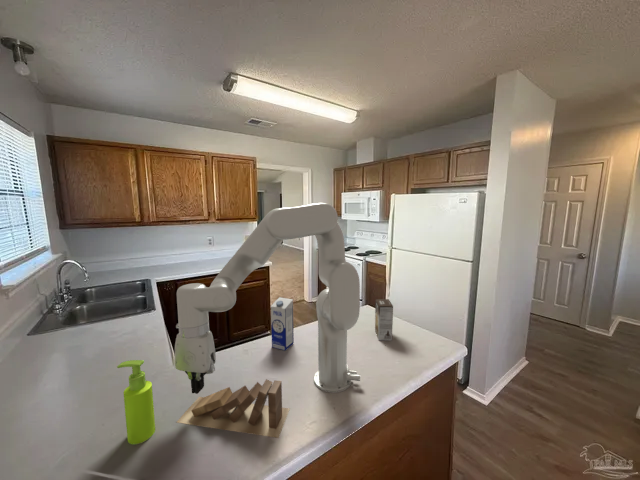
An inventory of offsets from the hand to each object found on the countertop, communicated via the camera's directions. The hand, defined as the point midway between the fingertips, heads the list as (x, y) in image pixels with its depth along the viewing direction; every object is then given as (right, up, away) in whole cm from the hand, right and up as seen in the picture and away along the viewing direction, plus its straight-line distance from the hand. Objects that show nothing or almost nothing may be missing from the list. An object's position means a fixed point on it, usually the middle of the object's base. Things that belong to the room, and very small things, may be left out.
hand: (198, 390), depth 75 cm
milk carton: (+19, -3, +38) cm, 42 cm away
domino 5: (+23, -6, -3) cm, 24 cm away
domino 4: (+17, -6, -2) cm, 18 cm away
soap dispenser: (-12, -8, -7) cm, 16 cm away
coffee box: (+64, -2, +46) cm, 79 cm away
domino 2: (+6, -5, 0) cm, 8 cm away
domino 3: (+11, -6, -1) cm, 13 cm away
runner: (+11, -7, -1) cm, 13 cm away
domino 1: (0, -5, +1) cm, 5 cm away
